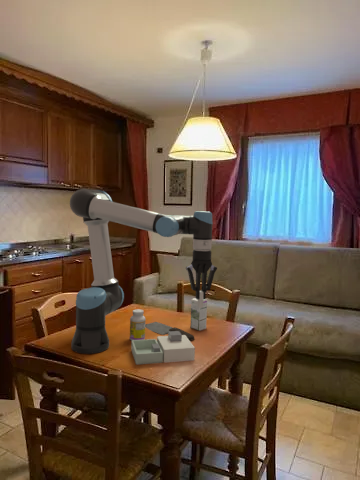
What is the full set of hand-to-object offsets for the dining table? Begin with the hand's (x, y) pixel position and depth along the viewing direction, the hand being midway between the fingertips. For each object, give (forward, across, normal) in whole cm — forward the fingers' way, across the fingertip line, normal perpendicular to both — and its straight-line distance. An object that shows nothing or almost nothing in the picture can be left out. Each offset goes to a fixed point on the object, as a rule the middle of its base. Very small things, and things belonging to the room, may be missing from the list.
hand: (200, 306), depth 152 cm
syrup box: (+18, +8, +25) cm, 32 cm away
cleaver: (+19, -8, +22) cm, 30 cm away
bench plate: (+18, -11, -3) cm, 21 cm away
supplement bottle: (+18, -24, +15) cm, 33 cm away
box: (+18, -22, -3) cm, 29 cm away
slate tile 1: (+15, -18, -6) cm, 24 cm away
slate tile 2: (+13, -10, 0) cm, 17 cm away
